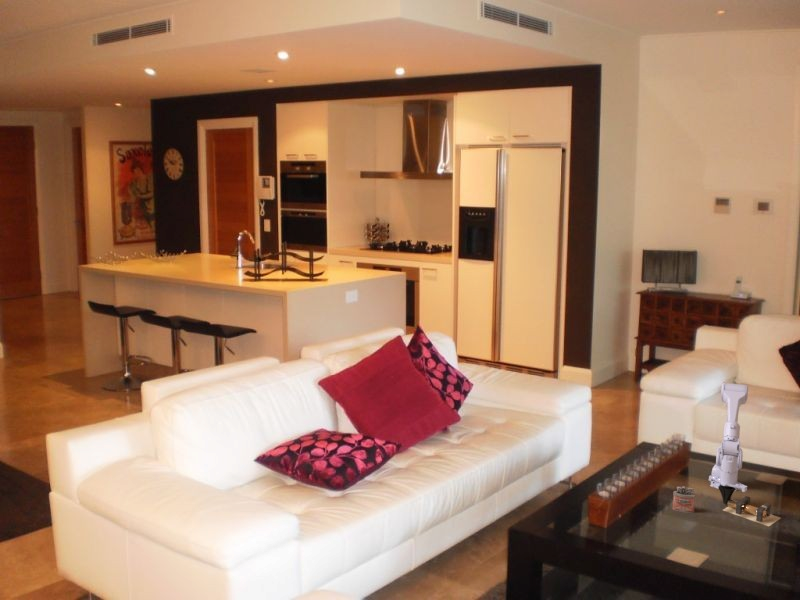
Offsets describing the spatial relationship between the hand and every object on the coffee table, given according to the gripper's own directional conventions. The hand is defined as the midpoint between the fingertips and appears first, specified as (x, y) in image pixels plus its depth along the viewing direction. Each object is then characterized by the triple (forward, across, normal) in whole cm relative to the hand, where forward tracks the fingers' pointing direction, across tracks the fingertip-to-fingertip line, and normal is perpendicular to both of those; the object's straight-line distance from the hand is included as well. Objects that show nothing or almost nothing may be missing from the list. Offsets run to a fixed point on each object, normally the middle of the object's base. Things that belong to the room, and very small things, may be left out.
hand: (726, 503), depth 324 cm
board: (+1, +10, 0) cm, 10 cm away
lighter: (+2, -9, -16) cm, 18 cm away
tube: (+1, +8, 0) cm, 8 cm away
